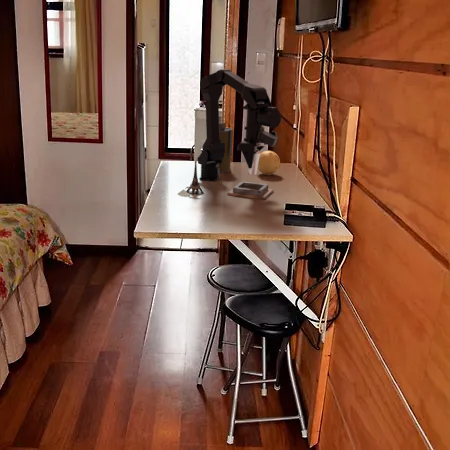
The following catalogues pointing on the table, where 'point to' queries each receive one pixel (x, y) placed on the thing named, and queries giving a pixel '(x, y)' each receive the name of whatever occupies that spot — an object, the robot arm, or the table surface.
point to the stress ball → (268, 162)
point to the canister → (226, 146)
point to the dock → (251, 190)
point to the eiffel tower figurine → (192, 187)
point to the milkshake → (254, 164)
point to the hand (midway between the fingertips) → (251, 166)
